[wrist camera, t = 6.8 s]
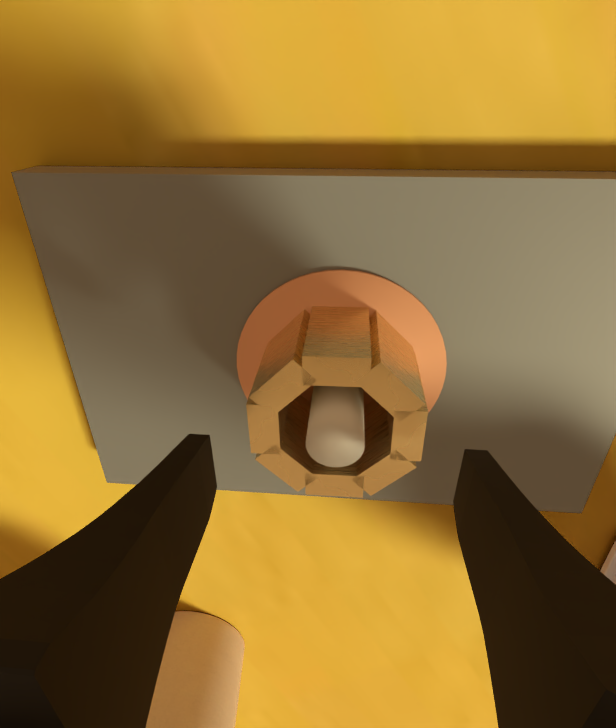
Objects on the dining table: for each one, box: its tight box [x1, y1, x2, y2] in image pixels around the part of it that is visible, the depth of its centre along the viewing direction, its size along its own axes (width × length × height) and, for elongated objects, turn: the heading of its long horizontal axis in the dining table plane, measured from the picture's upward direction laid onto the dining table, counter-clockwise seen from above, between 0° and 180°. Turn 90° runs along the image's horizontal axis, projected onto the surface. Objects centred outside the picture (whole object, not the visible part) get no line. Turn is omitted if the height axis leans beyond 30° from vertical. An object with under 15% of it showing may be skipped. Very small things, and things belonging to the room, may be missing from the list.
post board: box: [11, 166, 616, 513], centre depth 17 cm, size 22×14×6 cm, turn 90°
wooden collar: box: [246, 306, 428, 498], centre depth 16 cm, size 6×6×4 cm
